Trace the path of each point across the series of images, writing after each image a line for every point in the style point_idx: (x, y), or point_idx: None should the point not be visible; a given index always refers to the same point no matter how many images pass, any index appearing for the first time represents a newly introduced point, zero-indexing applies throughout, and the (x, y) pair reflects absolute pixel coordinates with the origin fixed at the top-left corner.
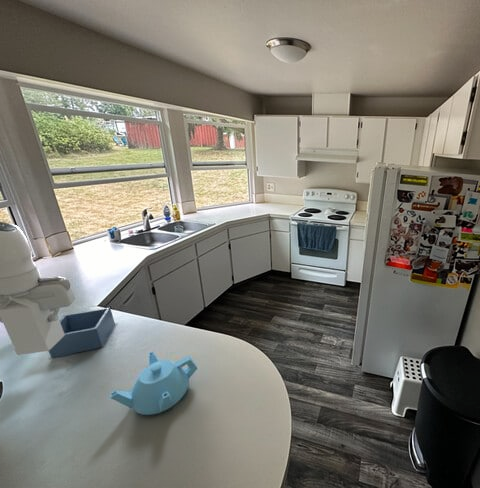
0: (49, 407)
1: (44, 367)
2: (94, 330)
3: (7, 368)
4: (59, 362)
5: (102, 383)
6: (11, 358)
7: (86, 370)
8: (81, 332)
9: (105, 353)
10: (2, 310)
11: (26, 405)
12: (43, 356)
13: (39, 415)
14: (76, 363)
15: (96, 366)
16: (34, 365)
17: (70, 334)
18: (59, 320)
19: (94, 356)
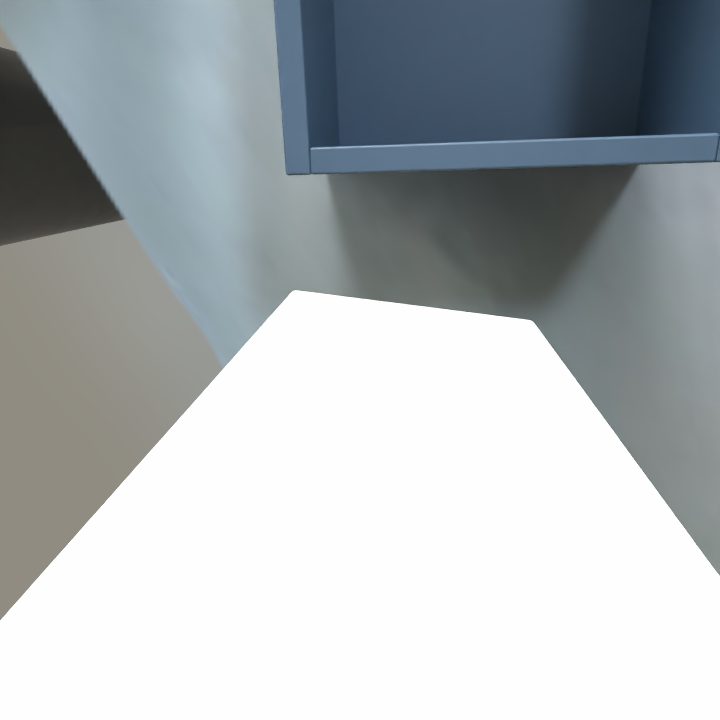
0: None
1: (332, 263)
2: (711, 160)
3: (115, 190)
4: (400, 242)
5: (700, 522)
6: (62, 74)
7: (591, 386)
8: (594, 164)
9: (675, 249)
10: None
11: None
12: (263, 128)
13: None
14: (511, 294)
15: (642, 371)
16: (260, 218)
17: (499, 167)
18: (589, 399)
19: (607, 258)
